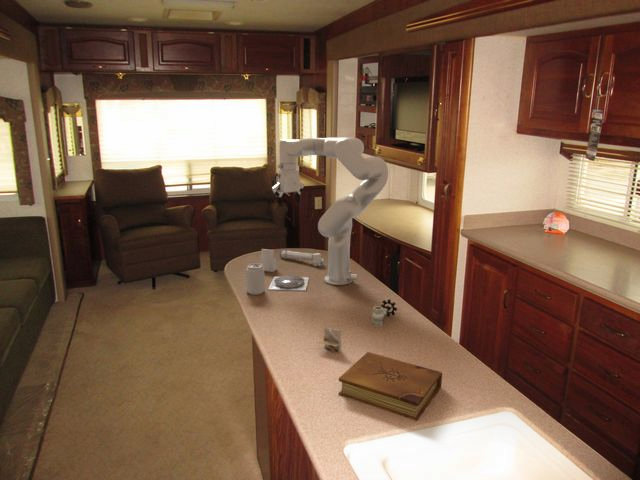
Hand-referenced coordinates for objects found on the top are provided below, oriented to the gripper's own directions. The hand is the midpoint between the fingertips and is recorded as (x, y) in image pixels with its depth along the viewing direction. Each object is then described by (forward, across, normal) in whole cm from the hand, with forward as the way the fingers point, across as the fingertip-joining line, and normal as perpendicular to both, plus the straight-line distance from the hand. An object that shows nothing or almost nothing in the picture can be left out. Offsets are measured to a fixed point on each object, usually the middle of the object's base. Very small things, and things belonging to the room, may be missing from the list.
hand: (288, 204), depth 238 cm
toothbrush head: (+32, +12, +6) cm, 35 cm away
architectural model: (+32, -37, -74) cm, 89 cm away
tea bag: (+32, -8, +6) cm, 34 cm away
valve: (+32, -8, -68) cm, 76 cm away
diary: (+32, -40, -103) cm, 115 cm away
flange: (+32, -11, -16) cm, 37 cm away
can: (+32, -28, -15) cm, 45 cm away
